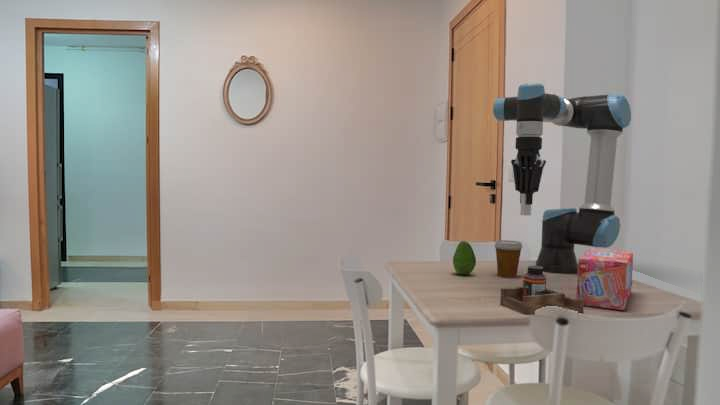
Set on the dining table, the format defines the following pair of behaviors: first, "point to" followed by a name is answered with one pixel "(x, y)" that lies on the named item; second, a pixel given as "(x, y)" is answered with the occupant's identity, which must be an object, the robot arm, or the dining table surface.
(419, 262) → the dining table surface
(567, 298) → the base
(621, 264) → the box
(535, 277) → the supplement bottle
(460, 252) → the avocado
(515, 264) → the disposable coffee cup
